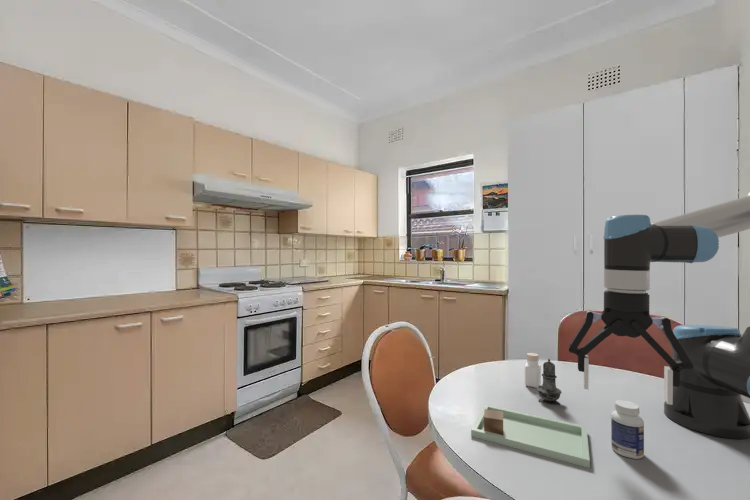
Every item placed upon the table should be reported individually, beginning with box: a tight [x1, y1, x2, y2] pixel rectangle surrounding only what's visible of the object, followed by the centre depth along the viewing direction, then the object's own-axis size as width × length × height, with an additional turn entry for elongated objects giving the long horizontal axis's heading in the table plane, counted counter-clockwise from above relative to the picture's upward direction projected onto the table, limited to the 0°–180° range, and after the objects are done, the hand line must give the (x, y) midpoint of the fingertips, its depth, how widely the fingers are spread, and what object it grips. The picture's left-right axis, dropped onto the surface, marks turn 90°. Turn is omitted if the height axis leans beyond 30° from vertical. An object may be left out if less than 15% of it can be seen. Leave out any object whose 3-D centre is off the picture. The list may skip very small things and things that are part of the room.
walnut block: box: [484, 409, 503, 435], centre depth 75 cm, size 4×4×4 cm
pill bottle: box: [610, 399, 645, 460], centre depth 69 cm, size 5×5×10 cm
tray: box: [470, 404, 591, 469], centre depth 74 cm, size 22×14×2 cm, turn 60°
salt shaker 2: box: [536, 358, 563, 406], centre depth 91 cm, size 6×6×12 cm
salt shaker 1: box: [524, 352, 542, 389], centre depth 103 cm, size 4×4×10 cm
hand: (625, 394), depth 69 cm, fingers open, 13 cm apart
